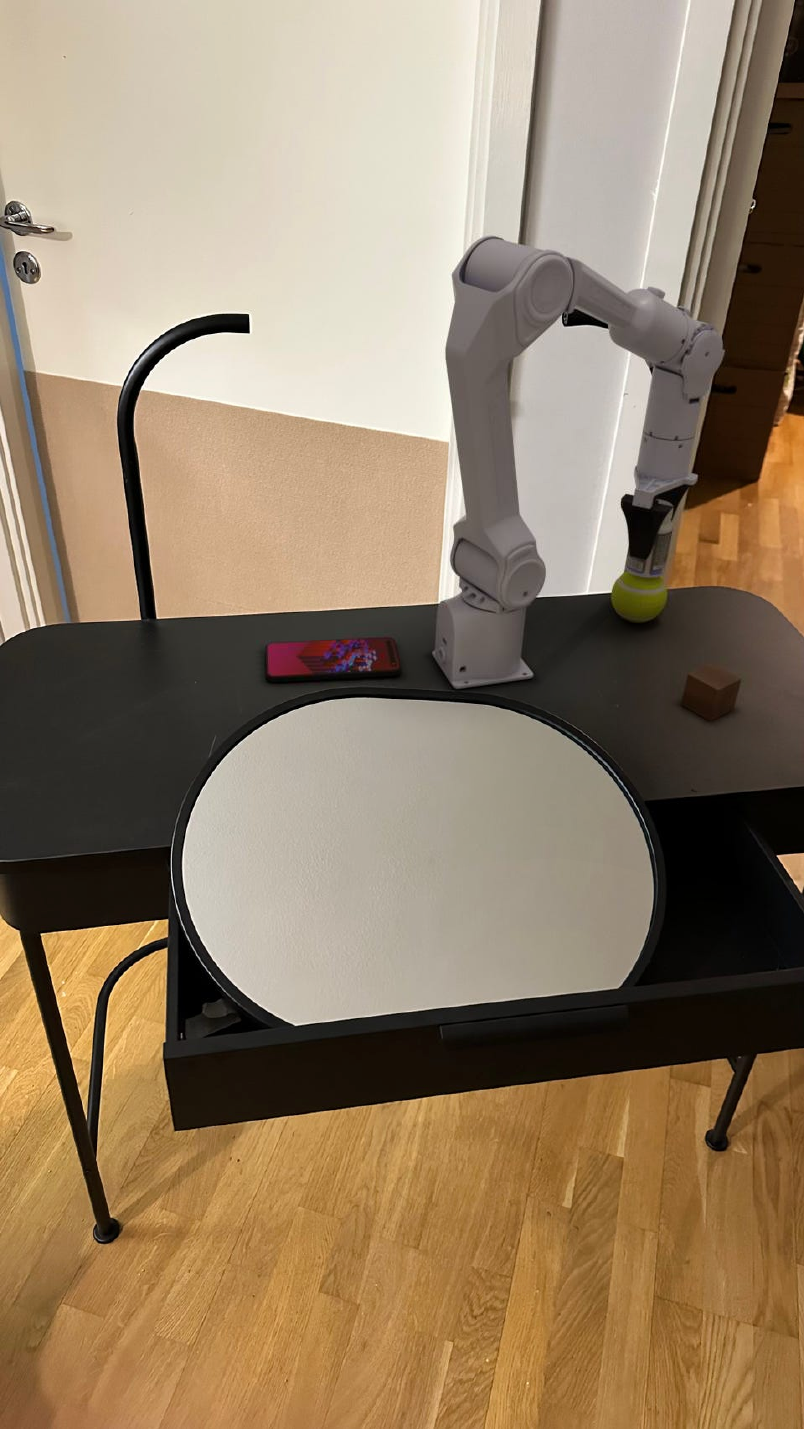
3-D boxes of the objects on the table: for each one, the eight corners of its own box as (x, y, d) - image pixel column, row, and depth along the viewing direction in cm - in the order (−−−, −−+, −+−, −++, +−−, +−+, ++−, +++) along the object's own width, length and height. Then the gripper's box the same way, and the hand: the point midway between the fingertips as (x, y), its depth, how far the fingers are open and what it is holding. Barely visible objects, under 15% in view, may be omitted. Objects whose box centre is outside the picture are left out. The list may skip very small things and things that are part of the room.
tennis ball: (658, 636, 119) (668, 587, 115) (603, 626, 121) (611, 577, 117) (664, 612, 124) (674, 564, 121) (611, 603, 126) (619, 555, 122)
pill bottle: (661, 563, 121) (674, 498, 116) (666, 580, 117) (680, 514, 112) (622, 560, 121) (633, 496, 116) (626, 577, 117) (637, 511, 112)
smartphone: (265, 642, 113) (394, 636, 115) (265, 648, 114) (394, 642, 116) (266, 677, 107) (402, 670, 109) (266, 684, 107) (402, 677, 109)
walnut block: (710, 721, 104) (718, 690, 102) (680, 704, 107) (687, 673, 104) (733, 709, 106) (742, 678, 104) (704, 693, 109) (711, 662, 106)
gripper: (688, 458, 102) (664, 576, 110) (719, 421, 113) (696, 531, 121) (622, 445, 105) (604, 561, 113) (659, 411, 116) (640, 519, 123)
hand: (648, 545), depth 117 cm, fingers open, 7 cm apart
